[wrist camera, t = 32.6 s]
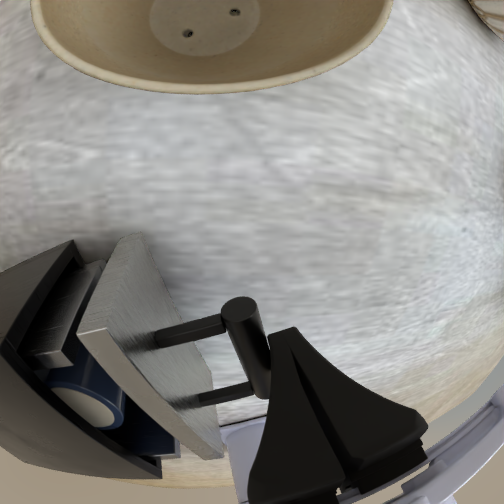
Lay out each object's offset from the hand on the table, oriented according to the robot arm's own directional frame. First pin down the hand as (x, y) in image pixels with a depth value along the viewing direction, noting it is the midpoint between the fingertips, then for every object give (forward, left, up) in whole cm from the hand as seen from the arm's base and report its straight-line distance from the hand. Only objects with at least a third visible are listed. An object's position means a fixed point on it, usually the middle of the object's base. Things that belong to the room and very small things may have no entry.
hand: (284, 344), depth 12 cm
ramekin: (0, +11, -3) cm, 11 cm away
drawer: (0, +10, -4) cm, 10 cm away
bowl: (+15, -1, -5) cm, 16 cm away
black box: (0, +16, -5) cm, 17 cm away
